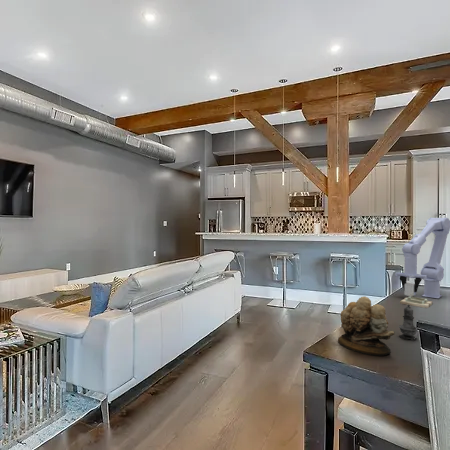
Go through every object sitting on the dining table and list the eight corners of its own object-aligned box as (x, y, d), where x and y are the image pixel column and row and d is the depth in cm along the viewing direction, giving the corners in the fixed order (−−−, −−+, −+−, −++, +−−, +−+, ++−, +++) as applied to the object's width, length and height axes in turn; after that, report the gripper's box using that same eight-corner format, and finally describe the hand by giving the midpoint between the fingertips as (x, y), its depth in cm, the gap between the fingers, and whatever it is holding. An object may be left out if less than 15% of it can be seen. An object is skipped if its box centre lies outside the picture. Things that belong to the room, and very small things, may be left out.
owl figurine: (400, 351, 105) (401, 298, 105) (385, 361, 97) (386, 305, 97) (347, 335, 118) (348, 288, 118) (330, 344, 110) (331, 294, 110)
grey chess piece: (395, 334, 120) (395, 302, 119) (410, 334, 120) (411, 302, 120) (405, 340, 114) (406, 306, 113) (421, 340, 114) (422, 306, 114)
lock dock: (406, 299, 173) (406, 295, 173) (432, 303, 164) (432, 299, 164) (400, 303, 165) (400, 298, 165) (427, 308, 156) (427, 303, 156)
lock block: (406, 293, 178) (406, 282, 178) (416, 294, 175) (416, 283, 174) (404, 294, 174) (404, 283, 174) (413, 296, 171) (414, 285, 171)
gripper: (393, 265, 176) (393, 290, 177) (424, 268, 166) (424, 294, 167) (397, 263, 181) (397, 288, 182) (427, 266, 171) (427, 292, 172)
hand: (410, 291), depth 174 cm, fingers closed on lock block, 4 cm apart
